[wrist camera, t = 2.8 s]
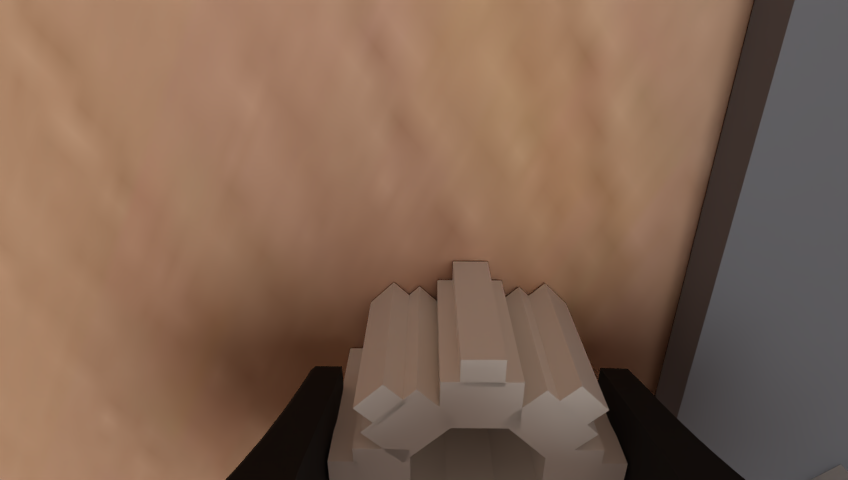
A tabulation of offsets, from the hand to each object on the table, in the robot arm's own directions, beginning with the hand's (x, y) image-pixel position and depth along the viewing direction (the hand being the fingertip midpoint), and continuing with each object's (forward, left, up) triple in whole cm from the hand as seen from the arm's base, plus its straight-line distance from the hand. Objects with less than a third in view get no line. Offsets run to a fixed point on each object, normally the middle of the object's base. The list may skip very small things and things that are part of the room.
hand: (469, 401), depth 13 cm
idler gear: (0, 0, -1) cm, 1 cm away
